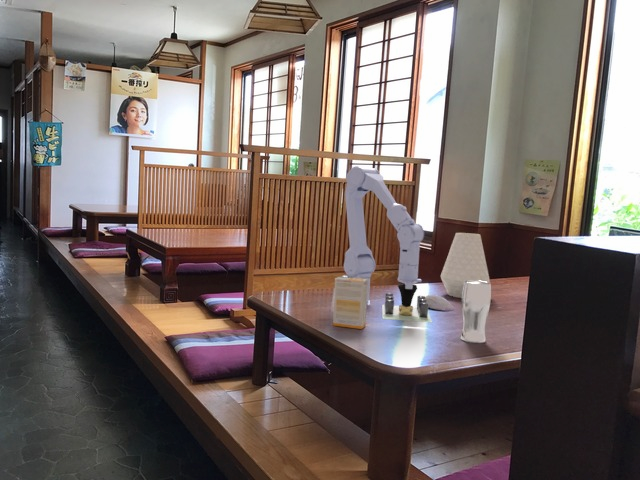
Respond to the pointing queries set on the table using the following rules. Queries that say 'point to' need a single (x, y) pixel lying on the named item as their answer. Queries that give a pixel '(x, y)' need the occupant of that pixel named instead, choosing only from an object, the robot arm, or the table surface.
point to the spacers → (421, 305)
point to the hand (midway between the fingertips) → (405, 308)
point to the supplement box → (350, 302)
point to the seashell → (438, 303)
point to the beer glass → (475, 310)
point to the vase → (464, 263)
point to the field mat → (406, 318)
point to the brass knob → (405, 310)
